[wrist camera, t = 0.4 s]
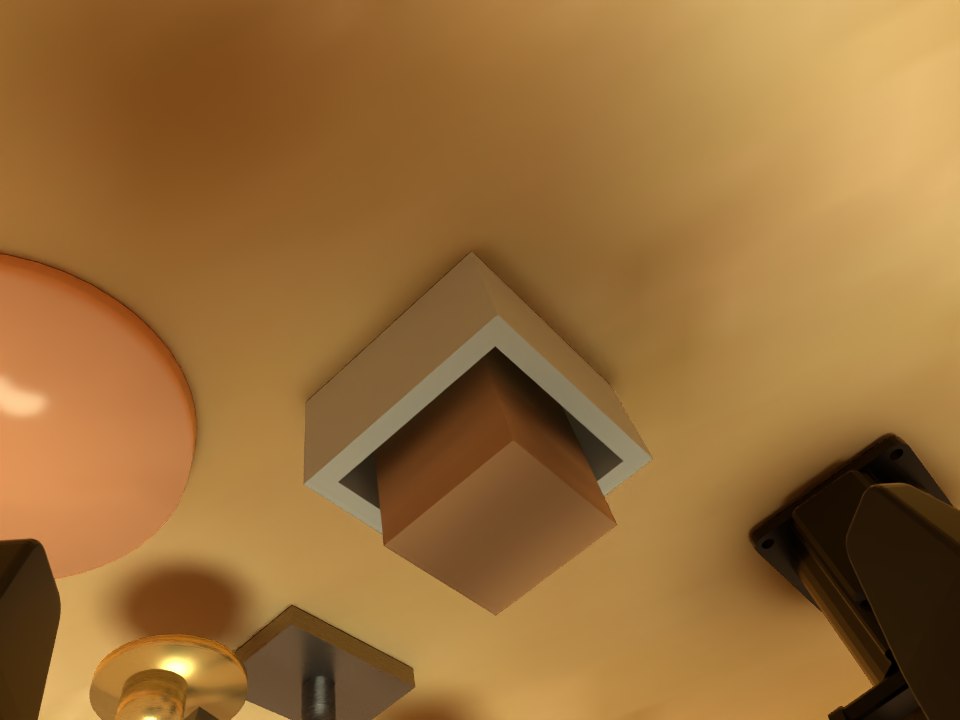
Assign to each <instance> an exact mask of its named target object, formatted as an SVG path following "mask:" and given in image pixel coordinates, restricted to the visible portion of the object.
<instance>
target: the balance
mask: <svg viewBox="0 0 960 720" xmlns="http://www.w3.org/2000/svg"><path fill="white" fill-rule="evenodd" d="M413 688H415V682H414V673H413V669H412V668H410V667H408V666H407V665H405V664H403V663H401V662H399V661H397V660H395V659H393V658H391V657H389V656H388V655H386V654H384V653H382V652H380V651H378V650H376V649H374V648H372V647H370V646H368V645H367V644H365V643H363V642H361V641H359V640H357V639H355V638H353V637H351V636H349V635H348V634H346V633H344V632H342V631H340V630H338V629H336V628H334V627H332V626H330V625H328V624H327V623H325V622H323V621H321V620H319V619H317V618H315V617H313V616H311V615H309V614H308V613H306V612H304V611H302V610H300V609H298V608H296V607H294V606H291V607H289V608H288V609H287V610H286V611H285V612H283V613H282V614H281V615H280V616H278V617H277V618H276V619H275V620H274V621H272V622H271V623H270V624H269V625H268V626H266V627H265V628H264V629H263V630H261V631H260V632H259V633H258V634H257V635H255V636H254V637H253V638H252V639H251V640H249V641H248V642H247V643H246V644H244V645H243V646H242V647H241V648H240V649H238V650H237V651H236V652H235V653H234V652H233V651H232V650H230V649H229V648H228V647H226V646H224V645H222V644H220V643H218V642H215V641H213V640H210V639H206V638H203V637H198V636H193V635H184V634H164V635H155V636H149V637H145V638H141V639H137V640H134V641H131V642H129V643H127V644H125V645H122V646H120V647H119V648H117V649H115V650H114V651H112V652H111V653H110V654H108V655H107V656H106V657H105V658H104V659H103V660H102V661H101V663H100V664H99V665H98V667H97V669H96V671H95V673H94V677H93V680H92V684H91V688H90V702H91V705H92V707H93V710H94V711H95V712H96V714H97V715H98V716H99V717H100V718H101V719H102V720H231V719H232V718H233V717H234V716H235V715H236V714H237V713H238V712H239V711H240V709H241V708H242V706H243V705H244V703H245V700H247V701H249V702H251V703H254V704H256V705H258V706H261V707H263V708H265V709H268V710H270V711H272V712H275V713H277V714H279V715H282V716H284V717H286V718H289V719H291V720H372V719H373V718H374V717H376V716H377V715H378V714H380V713H381V712H382V711H384V710H385V709H386V708H388V707H389V706H390V705H392V704H393V703H394V702H396V701H397V700H399V699H400V698H401V697H403V696H404V695H405V694H407V693H408V692H409V691H411V690H412V689H413Z"/></svg>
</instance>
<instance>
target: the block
mask: <svg viewBox="0 0 960 720" xmlns="http://www.w3.org/2000/svg"><path fill="white" fill-rule="evenodd" d="M374 452H375V462H376V472H377V482H378V492H379V502H380V512H381V523H382V533H383V543H384V546H385V547H387V548H388V549H390V550H391V551H393V552H395V553H396V554H398V555H399V556H401V557H403V558H404V559H406V560H407V561H409V562H411V563H412V564H414V565H416V566H417V567H419V568H420V569H422V570H424V571H425V572H427V573H428V574H430V575H432V576H433V577H435V578H436V579H438V580H440V581H441V582H443V583H444V584H446V585H448V586H449V587H451V588H452V589H454V590H456V591H457V592H459V593H460V594H462V595H464V596H465V597H467V598H469V599H470V600H472V601H473V602H475V603H477V604H478V605H480V606H481V607H483V608H485V609H486V610H488V611H489V612H491V613H493V614H494V615H497V614H498V613H500V612H501V611H502V610H504V609H505V608H506V607H508V606H509V605H510V604H512V603H513V602H514V601H516V600H517V599H519V598H520V597H521V596H523V595H524V594H525V593H527V592H528V591H529V590H531V589H532V588H533V587H535V586H536V585H537V584H539V583H540V582H541V581H543V580H544V579H545V578H547V577H548V576H549V575H551V574H552V573H553V572H555V571H556V570H557V569H559V568H560V567H561V566H563V565H564V564H565V563H567V562H568V561H569V560H571V559H572V558H573V557H575V556H576V555H577V554H579V553H580V552H581V551H583V550H584V549H585V548H587V547H588V546H589V545H591V544H592V543H593V542H595V541H596V540H598V539H599V538H600V537H602V536H603V535H604V534H606V533H607V532H608V531H610V530H611V529H612V528H614V527H615V526H616V525H617V524H616V521H615V519H614V517H613V515H612V513H611V511H610V508H609V506H608V504H607V502H606V500H605V498H604V495H603V493H602V491H601V489H600V487H599V485H598V483H597V480H596V478H595V476H594V474H593V472H592V470H591V467H590V465H589V463H588V461H587V459H586V457H585V454H584V452H583V450H582V448H581V446H580V444H579V442H578V439H577V437H576V435H575V433H574V431H573V429H572V426H571V424H570V422H569V420H568V418H567V416H566V413H565V411H564V409H563V407H562V406H561V405H560V404H559V403H558V402H557V401H556V400H555V399H554V398H553V397H551V396H550V395H549V394H548V393H547V392H546V391H545V390H544V389H542V388H541V387H540V386H539V385H538V384H537V383H536V382H535V381H534V380H532V379H531V378H530V377H529V376H528V375H527V374H526V373H525V372H523V371H522V370H521V369H520V368H519V367H518V366H517V365H516V364H515V363H513V362H512V361H511V360H510V359H509V358H508V357H507V356H506V355H504V354H503V353H502V352H501V351H500V350H499V349H498V348H497V347H496V346H495V347H494V348H493V349H491V350H490V351H489V352H488V353H487V354H486V355H485V356H483V357H482V358H481V359H480V360H479V361H478V362H476V363H475V364H474V365H473V366H472V367H471V368H469V369H468V370H467V371H466V372H465V373H464V374H462V375H461V376H460V377H459V378H458V379H457V380H456V381H454V382H453V383H452V384H451V385H450V386H449V387H447V388H446V389H445V390H444V391H443V392H442V393H440V394H439V395H438V396H437V397H436V398H435V399H434V400H432V401H431V402H430V403H429V404H428V405H427V406H425V407H424V408H423V409H422V410H421V411H420V412H418V413H417V414H416V415H415V416H414V417H413V418H412V419H410V420H409V421H408V422H407V423H406V424H405V425H403V426H402V427H401V428H400V429H399V430H398V431H396V432H395V433H394V434H393V435H392V436H391V437H390V438H388V439H387V440H386V441H385V442H384V443H383V444H381V445H380V446H379V447H378V448H377V449H376V450H374Z"/></svg>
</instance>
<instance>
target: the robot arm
mask: <svg viewBox="0 0 960 720" xmlns="http://www.w3.org/2000/svg"><path fill="white" fill-rule="evenodd" d="M750 541H751V543H752V545H753V546H754V548H755V549H756V551H757V552H758V553H759V554H760V555H761V556H762V557H763V558H764V559H765V560H767V561H768V562H769V563H770V564H771V565H772V566H773V567H774V568H775V569H776V570H777V571H778V572H779V573H780V574H782V575H783V576H784V577H785V578H786V579H787V580H788V581H789V582H790V583H791V584H792V585H793V586H794V587H795V588H796V589H798V590H799V591H800V592H801V593H802V594H803V595H804V596H805V597H806V598H807V599H808V600H809V601H810V602H811V603H813V604H814V605H815V606H816V607H817V608H818V609H819V610H820V611H821V612H823V614H824V615H825V616H826V618H827V619H828V621H829V622H830V624H831V625H832V627H833V628H834V630H835V631H836V632H837V634H838V635H839V637H840V638H841V640H842V641H843V643H844V644H845V646H846V647H847V648H848V650H849V651H850V653H851V654H852V656H853V657H854V659H855V660H856V662H857V663H858V664H859V666H860V667H861V669H862V670H863V672H864V673H865V675H866V676H867V678H868V679H869V680H870V682H871V683H872V685H873V686H874V687H872V688H871V689H870V690H868V691H867V692H865V693H864V694H862V695H861V696H860V697H858V698H857V699H855V700H854V701H852V702H851V703H850V704H848V705H847V706H845V707H842V706H840V707H838V708H837V709H836V710H834V711H833V712H831V713H830V714H828V718H829V720H960V510H958V509H956V508H954V507H953V505H952V504H951V503H950V501H949V500H948V499H947V497H946V496H945V494H944V493H943V492H942V490H941V489H940V488H939V486H938V485H937V484H936V482H935V481H934V479H933V478H932V477H931V475H930V474H929V473H928V471H927V470H926V469H925V467H924V466H923V465H922V463H921V462H920V460H919V459H918V458H917V456H916V455H915V454H914V452H913V451H912V450H911V448H910V447H909V446H908V445H907V444H906V443H905V442H904V441H903V440H902V439H901V438H900V437H896V436H893V437H889V438H887V439H885V440H883V441H882V442H881V443H879V444H878V445H876V446H875V447H874V448H872V449H871V450H869V451H868V452H866V453H865V454H864V455H862V456H861V457H859V458H858V459H857V460H855V461H854V462H852V463H851V464H849V465H848V466H847V467H845V468H844V469H842V470H841V471H839V472H838V473H837V474H835V475H834V476H832V477H831V478H830V479H828V480H827V481H825V482H824V483H822V484H821V485H820V486H818V487H817V488H815V489H814V490H812V491H811V492H810V493H808V494H807V495H805V496H804V497H803V498H801V499H800V500H798V501H797V502H795V503H794V504H793V505H791V506H790V507H788V508H787V509H786V510H784V511H783V512H781V513H780V514H778V515H777V516H776V517H774V518H773V519H771V520H770V521H768V522H767V523H766V524H764V525H763V526H761V527H760V528H759V529H757V530H756V531H755V532H754V533H753V534H752V536H751V537H750ZM60 612H61V603H60V596H59V592H58V589H57V586H56V583H55V580H54V576H53V573H52V570H51V567H50V564H49V561H48V558H47V554H46V551H45V549H44V547H43V545H42V544H41V542H40V541H38V540H36V539H32V538H27V539H11V540H0V720H38V716H39V711H40V707H41V702H42V698H43V693H44V689H45V684H46V679H47V675H48V670H49V666H50V661H51V657H52V652H53V648H54V643H55V639H56V634H57V630H58V625H59V620H60Z"/></svg>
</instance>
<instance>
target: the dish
mask: <svg viewBox="0 0 960 720" xmlns="http://www.w3.org/2000/svg"><path fill="white" fill-rule="evenodd" d="M196 430H197V425H196V414H195V407H194V403H193V399H192V395H191V391H190V388H189V386H188V384H187V381H186V379H185V377H184V374H183V372H182V370H181V368H180V367H179V365H178V364H177V362H176V360H175V359H174V357H173V355H172V354H171V352H170V351H169V350H168V348H167V347H166V346H165V345H164V343H163V342H162V341H161V340H160V339H159V337H158V336H157V335H156V334H155V333H154V332H153V331H152V330H151V329H150V328H149V327H148V326H147V325H146V324H145V323H144V322H143V321H142V320H141V319H140V318H139V317H138V316H137V315H135V314H134V313H133V312H131V311H130V310H129V309H127V308H126V307H125V306H124V305H122V304H121V303H120V302H118V301H117V300H116V299H114V298H112V297H111V296H109V295H107V294H106V293H104V292H102V291H101V290H99V289H98V288H96V287H94V286H93V285H91V284H89V283H86V282H84V281H82V280H80V279H78V278H76V277H74V276H72V275H70V274H67V273H65V272H63V271H60V270H57V269H54V268H51V267H49V266H46V265H43V264H40V263H37V262H34V261H30V260H26V259H21V258H17V257H13V256H9V255H4V254H0V540H11V539H27V538H32V539H36V540H38V541H40V542H41V544H42V545H43V547H44V549H45V551H46V554H47V558H48V561H49V564H50V567H51V570H52V573H53V576H54V579H58V578H63V577H67V576H72V575H76V574H80V573H83V572H86V571H89V570H92V569H95V568H98V567H101V566H104V565H106V564H108V563H110V562H112V561H115V560H117V559H119V558H121V557H123V556H124V555H126V554H128V553H129V552H131V551H133V550H134V549H136V548H138V547H139V546H140V545H142V544H143V543H144V542H145V541H147V540H148V539H149V538H150V537H152V536H153V535H154V534H155V533H156V532H157V531H158V530H159V529H160V528H161V527H162V526H163V524H164V523H165V522H166V521H167V520H168V518H169V517H170V516H171V514H172V513H173V511H174V510H175V508H176V507H177V505H178V503H179V501H180V499H181V497H182V494H183V492H184V490H185V487H186V483H187V479H188V475H189V472H190V467H191V462H192V458H193V453H194V449H195V442H196Z"/></svg>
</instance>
